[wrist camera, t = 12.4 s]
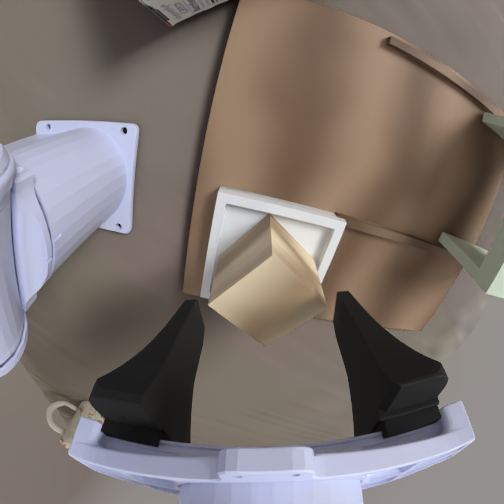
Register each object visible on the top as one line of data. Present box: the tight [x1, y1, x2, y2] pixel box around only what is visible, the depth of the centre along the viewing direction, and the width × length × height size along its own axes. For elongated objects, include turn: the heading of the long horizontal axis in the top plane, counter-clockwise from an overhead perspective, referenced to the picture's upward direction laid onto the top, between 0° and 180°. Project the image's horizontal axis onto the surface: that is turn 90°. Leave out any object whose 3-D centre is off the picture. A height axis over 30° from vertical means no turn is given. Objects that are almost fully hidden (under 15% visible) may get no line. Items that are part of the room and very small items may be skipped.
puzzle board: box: [183, 0, 504, 331], centre depth 17 cm, size 23×22×1 cm
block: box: [208, 213, 327, 346], centre depth 16 cm, size 4×4×5 cm
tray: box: [200, 186, 347, 299], centre depth 18 cm, size 8×8×1 cm
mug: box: [46, 401, 105, 449], centre depth 33 cm, size 8×13×10 cm, turn 63°
